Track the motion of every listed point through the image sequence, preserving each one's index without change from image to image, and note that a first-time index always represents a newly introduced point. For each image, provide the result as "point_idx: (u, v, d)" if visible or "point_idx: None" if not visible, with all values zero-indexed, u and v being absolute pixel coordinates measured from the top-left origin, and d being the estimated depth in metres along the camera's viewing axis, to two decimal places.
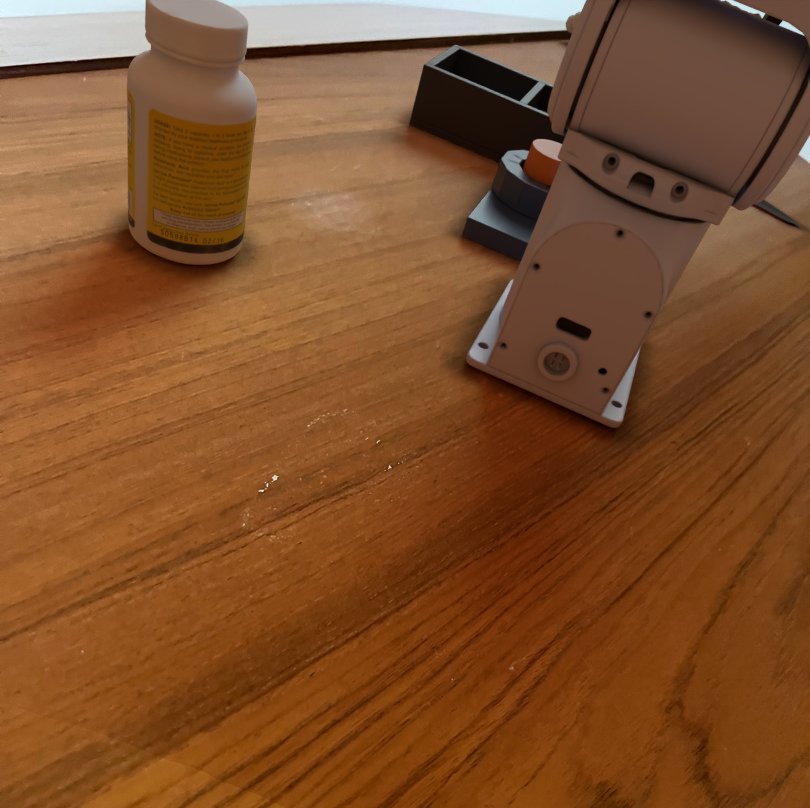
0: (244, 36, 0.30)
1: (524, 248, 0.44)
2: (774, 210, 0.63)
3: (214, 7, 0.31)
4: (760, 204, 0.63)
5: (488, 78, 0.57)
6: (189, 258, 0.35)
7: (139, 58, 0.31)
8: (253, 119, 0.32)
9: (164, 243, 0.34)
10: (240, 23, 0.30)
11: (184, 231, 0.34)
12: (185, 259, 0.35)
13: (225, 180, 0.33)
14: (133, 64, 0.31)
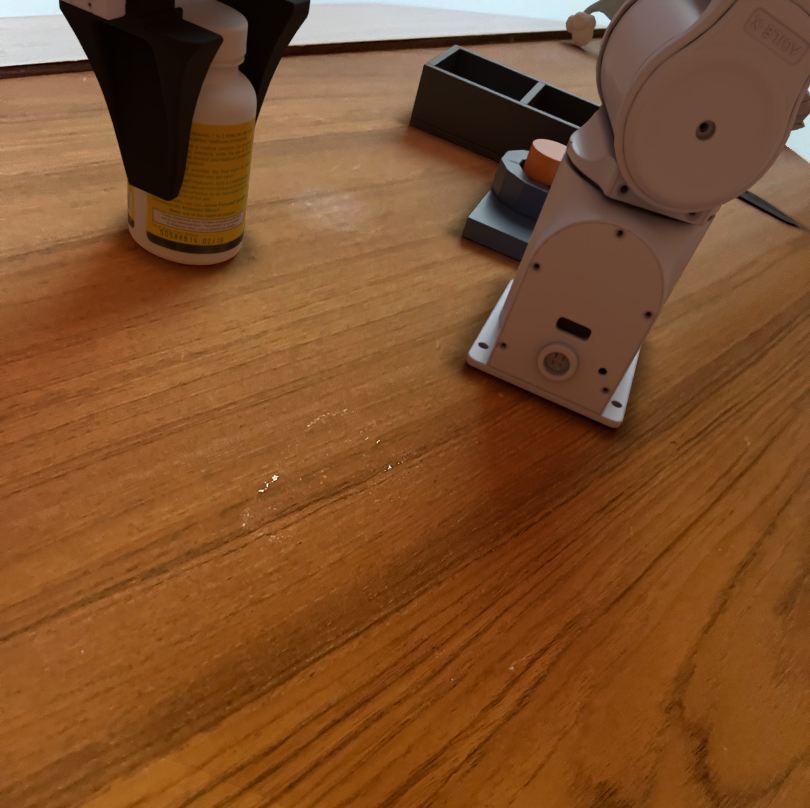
0: (244, 36, 0.30)
1: (524, 248, 0.44)
2: (774, 210, 0.63)
3: (214, 7, 0.30)
4: (760, 204, 0.63)
5: (488, 78, 0.57)
6: (189, 258, 0.35)
7: None
8: (253, 119, 0.32)
9: (164, 244, 0.34)
10: (239, 23, 0.30)
11: (183, 232, 0.34)
12: (185, 259, 0.35)
13: (224, 180, 0.33)
14: None
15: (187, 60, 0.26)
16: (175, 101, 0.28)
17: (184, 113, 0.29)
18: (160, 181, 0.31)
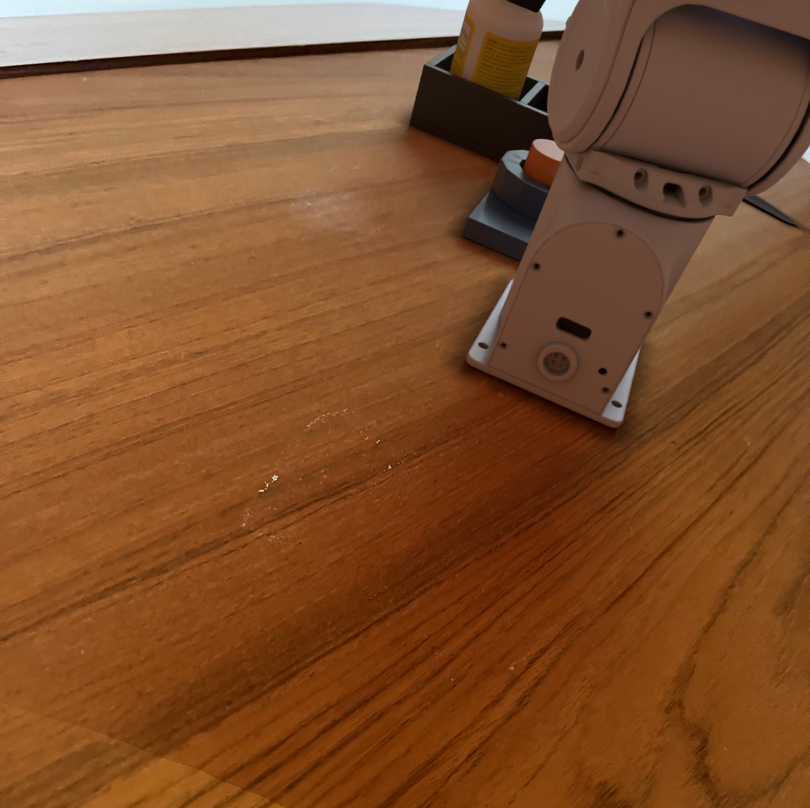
0: None
1: (524, 248, 0.44)
2: (774, 210, 0.63)
3: None
4: (760, 204, 0.63)
5: None
6: None
7: None
8: (540, 35, 0.51)
9: None
10: None
11: None
12: None
13: (519, 77, 0.52)
14: (476, 1, 0.50)
15: None
16: None
17: None
18: None
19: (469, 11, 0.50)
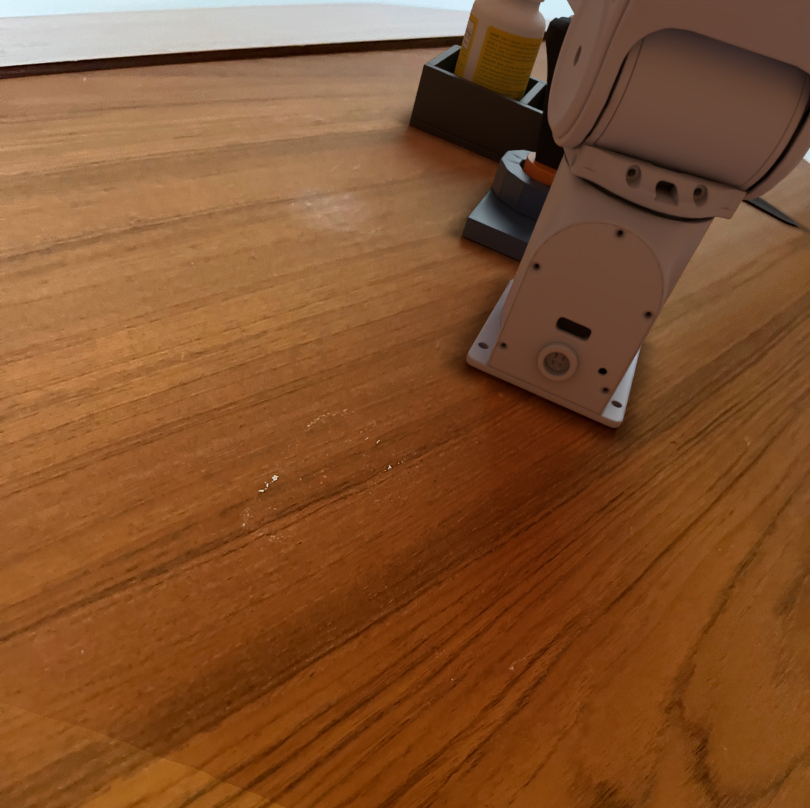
0: None
1: (524, 248, 0.44)
2: (774, 210, 0.63)
3: None
4: (760, 204, 0.63)
5: None
6: None
7: None
8: (542, 37, 0.52)
9: None
10: None
11: None
12: None
13: (520, 75, 0.53)
14: None
15: None
16: None
17: None
18: None
19: (473, 10, 0.51)
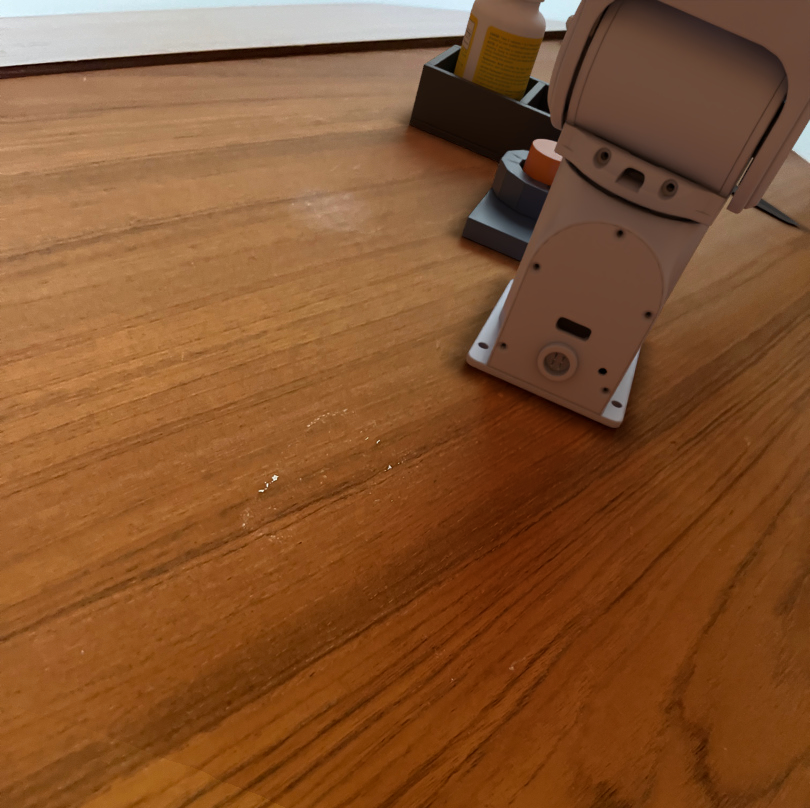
0: None
1: (524, 248, 0.44)
2: (774, 210, 0.63)
3: None
4: (760, 204, 0.63)
5: None
6: None
7: None
8: (542, 38, 0.52)
9: None
10: None
11: None
12: None
13: (520, 75, 0.53)
14: None
15: None
16: None
17: None
18: None
19: (473, 9, 0.51)
